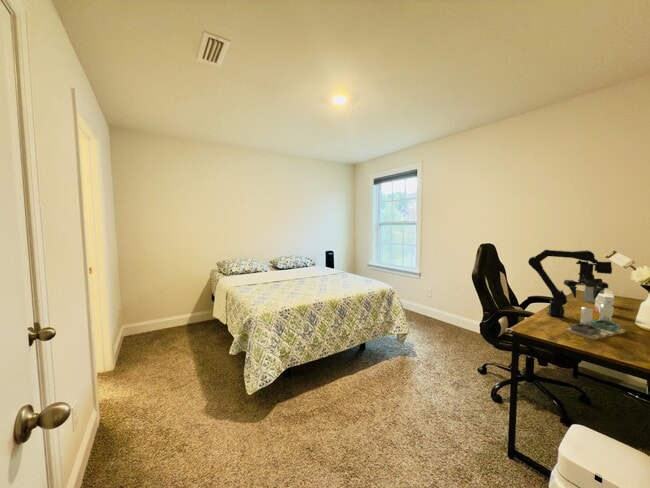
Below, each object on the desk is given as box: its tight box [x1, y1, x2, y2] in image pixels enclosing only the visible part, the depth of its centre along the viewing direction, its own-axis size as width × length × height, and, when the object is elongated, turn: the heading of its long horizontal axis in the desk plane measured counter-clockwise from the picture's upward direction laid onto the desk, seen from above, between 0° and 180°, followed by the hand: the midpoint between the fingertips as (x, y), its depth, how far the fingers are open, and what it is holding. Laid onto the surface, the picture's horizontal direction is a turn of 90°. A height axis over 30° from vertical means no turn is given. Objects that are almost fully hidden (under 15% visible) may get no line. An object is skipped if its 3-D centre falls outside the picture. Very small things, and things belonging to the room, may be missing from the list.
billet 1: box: [579, 306, 594, 330], centre depth 146 cm, size 4×4×12 cm
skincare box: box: [582, 285, 604, 305], centre depth 200 cm, size 8×7×16 cm
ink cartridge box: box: [594, 288, 615, 316], centre depth 177 cm, size 9×5×15 cm, turn 168°
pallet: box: [564, 319, 626, 341], centre depth 149 cm, size 27×12×4 cm, turn 108°
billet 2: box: [599, 304, 613, 326], centre depth 151 cm, size 4×4×12 cm
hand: (584, 298), depth 165 cm, fingers open, 9 cm apart
